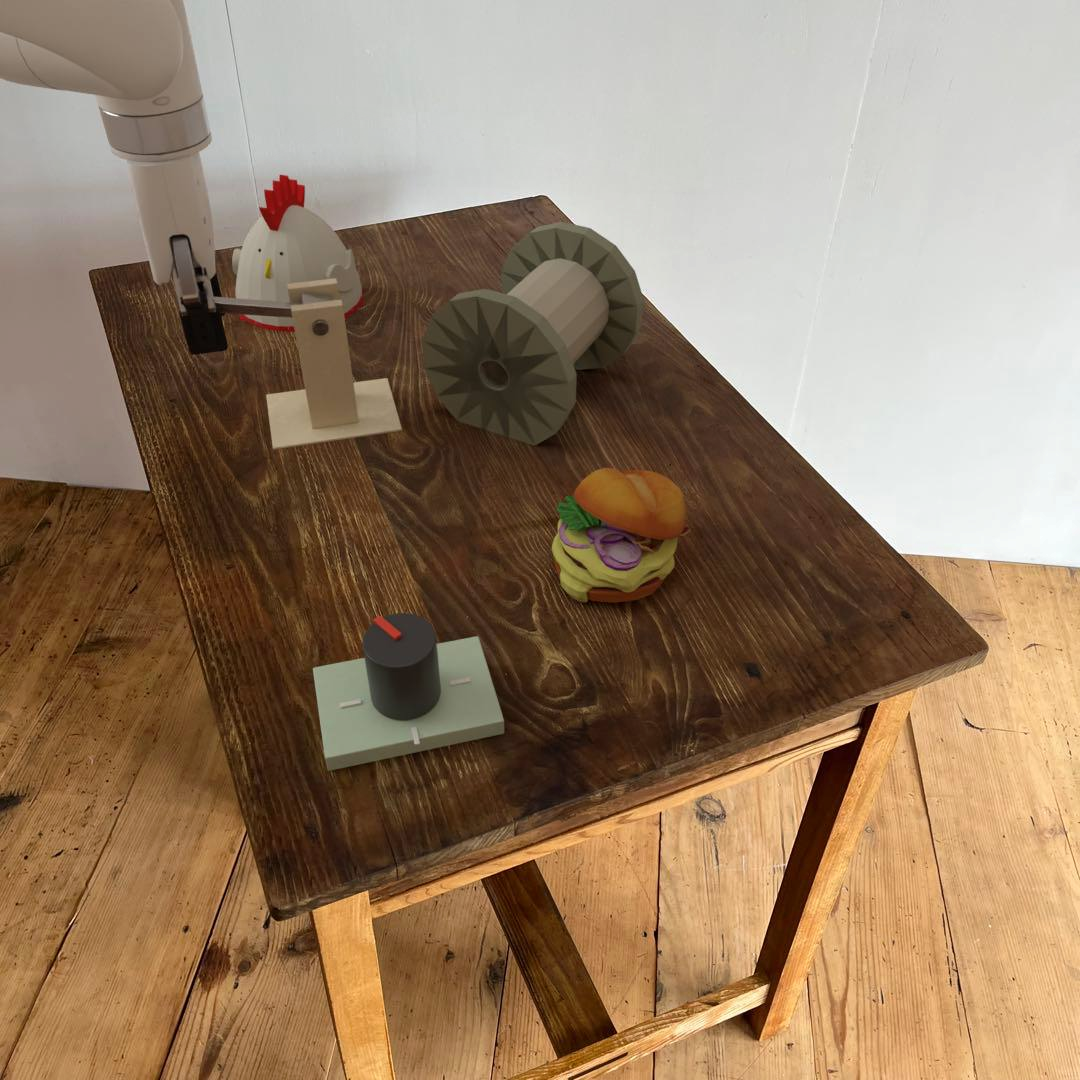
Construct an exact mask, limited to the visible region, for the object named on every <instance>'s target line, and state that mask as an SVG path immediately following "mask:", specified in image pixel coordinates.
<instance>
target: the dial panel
mask: <svg viewBox="0 0 1080 1080" xmlns="http://www.w3.org/2000/svg"><path fill="white" fill-rule="evenodd" d="M437 651H438V662H439V673H440V685H441V694H440V698H439V700H438V702H437V704H436V705H435V706H434V708H433V709H432V710H430V711H429V712H428V713H426V714H425V715H423V716H421V717H418V718H415V719H411V720H395V719H391V718H388V717H386V716H384V715H382V714H381V713H380V712H378V711H377V709H376V708H375V707H374V705H373V703H372V700H371V695H370V689H369V682H368V676H367V670H366V664H365V658H364V657H362V658H357V659H352V660H345V661H341V662H335V663H331V664H330V663H329V664H326V665H320V666H315V667H313V668H312V673H313V681H314V688H315V695H316V702H317V710H318V717H319V726H320V731H321V740H322V747H323V755H324V761H325V765H326V770H327V771H329V772H331V771H335V770H338V769H344V768H348V767H349V768H350V767H353V766H357V765H358V766H359V765H364V764H367V763H373V762H377V761H382V760H386V759H391V758H396V757H401V756H406V755H409V754H415V753H419V752H424V751H428V750H429V751H430V750H434V749H439V748H442V747H448V746H452V745H457V744H462V743H466V742H471V741H472V742H473V741H476V740H480V739H485V738H489V737H495V736H499V735H503V734H505V719H504V716H503V711H502V709H501V706H500V702H499V700H498V696H497V692H496V689H495V686H494V683H493V679H492V676H491V672H490V669H489V666H488V663H487V659H486V657H485V656H486V655H485V653H484V649H483V646H482V642H481V639H480V637H479V636H478V635H476V636H471V637H466V638H461V639H456V640H449V641H445V642H440V643H437Z"/></svg>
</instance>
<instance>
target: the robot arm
mask: <svg viewBox="0 0 1080 1080" xmlns="http://www.w3.org/2000/svg"><path fill="white" fill-rule="evenodd" d="M197 65H198V64H197V60H196V55H195V50H194V46H193V41H192V36H191V31H190V27H189V22H188V17H187V12H186V9H185V3H184V0H0V79H2V80H4V81H6V82H11V83H14V84H19V85H22V86H29V87H36V88H44V89H48V90H49V89H50V90H56V91H65V92H66V91H67V92H74V93H80V94H86V95H87V94H88V95H94V96H95V99H96V103H97V104H98V105H97V106H98V110H99V113H100V116H101V120H102V124H103V129H104V131H105V134H106V139H107V141H108V145H109V148H110V152H111V153H112V154H113V155H114V156H116V157H118V158H120V159H124V160H126V163H127V168H128V169H127V170H128V175H129V180H130V185H131V190H132V194H133V199H134V204H135V208H136V213H137V216H138V220H139V226H140V229H141V233H142V237H143V242H144V244H145V249H146V253H147V257H148V262H149V267H150V271H151V275H152V279H153V282H154V283H155V284H156V285H158V286H164V284H169V283H170V280H171V276H172V282H173V285H174V289H175V293H176V299H177V302H178V306H179V313H178V314H179V318H180V321H181V325H182V331H183V334H184V337H185V342H186V345H187V348H188V352H189V353H190V354H191V355H193V356H194V355H202V354H210V353H219V352H225V351H227V350H228V348H229V344H228V339H227V335H226V331H225V326H224V322H223V318H222V317H224V316H225V315H226V313H220V309H219V306H215V302H214V297H223V295H222V291H221V286H220V282H219V278H218V277H219V276H218V273H217V272H216V251H215V233H214V226H213V225H214V224H213V218H212V217H213V216H212V210H211V205H210V198H209V193H208V192H209V191H208V188H207V183H206V177H205V173H204V168H203V164H202V159H201V155H200V152H201V151H203V150H205V149H206V148H207V147H208V146H209V145H210V144H211V143H212V140H213V136H212V132H211V127H210V122H209V121H210V120H209V117H208V113H207V108H206V107H207V106H206V102H205V97H204V94H203V89H202V84H201V79H200V74H199V70H198V66H197ZM197 283H202V284H203V286H204V290H205V294H204V292H203V291H199V288H198V285H197Z"/></svg>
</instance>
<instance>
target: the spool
mask: <svg viewBox="0 0 1080 1080" xmlns="http://www.w3.org/2000/svg"><path fill="white" fill-rule="evenodd" d="M641 289H642V288H641V286H640V283H639V280H638V277H637V273H636V270H635V269H634V267H633V266H632V265H631V263H630V262H629V261H628V259H627V258H626V257H625V255H624V254H623V253H622V251H621V250H620V249H619V248H618V246H617V245H616V244H615V243H613V242H612V241H610V240H609V239H607V238H605V237H604V236H603V235H602V234H600V233H599V232H597V231H595V230H594V229H592V228H591V227H587V226H583V225H578V224H575V223H570V222H565V221H559V222H554V223H549V224H544V225H540V226H536V227H535V228H534V229H532V230H531V231H530V232H528V234H526V235H525V236H524V237H523V238H522V239H520V240H519V241H518V242H517V243H516V244H514V245H513V246H512V247H511V248H510V250H509V252H508V255H507V257H506V259H505V261H504V264H503V267H502V269H501V292H499V291H495V290H491V289H487V288H482V289H475V290H469V291H464V292H459V293H457V294H456V295H455V296H453V297H452V298H451V299H449V300H448V301H447V302H446V303H445V304H444V305H442V306H441V307H440V308H439V309H438V310H436V311H435V312H434V313H433V314H431V315H430V316H429V320H428V323H427V325H426V327H425V330H424V333H423V336H422V339H421V346H422V358H423V368H424V371H425V373H426V375H427V378H428V380H429V382H430V384H431V387H432V389H433V391H434V394H435V396H436V397H437V399H438V400H439V401H440V402H441V403H442V405H443V406H444V407H445V408H446V409H447V411H448V412H449V413H450V414H451V416H452V417H453V418H454V419H455V421H457V422H459V423H461V424H465V425H469V426H471V427H475V428H477V429H481V430H484V431H487V432H489V433H493V434H497V435H500V436H503V437H505V438H509V439H512V440H514V441H519V442H521V443H524V444H528V445H530V446H537V445H539V444H540V443H542V442H543V441H545V440H547V439H549V438H551V437H553V436H554V435H556V434H557V433H558V432H559V431H560V430H561V428H563V426H564V425H565V424H566V421H567V419H568V417H569V416H570V414H571V412H572V410H573V409H574V407H575V405H576V403H577V402H576V401H577V372H576V370H577V371H581V370H582V371H583V370H592V369H602V368H605V367H606V366H608V365H609V364H611V363H612V362H614V361H617V359H619V358H621V357H623V355H625V354H626V353H627V351H628V350H629V349H630V347H631V345H632V344H633V342H634V340H635V339H636V338H637V335H638V333H639V332H640V330H641V328H642V325H643V315H644V314H643V313H644V302H645V299H644V296H643V293H642V290H641Z"/></svg>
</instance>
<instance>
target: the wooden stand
mask: <svg viewBox="0 0 1080 1080" xmlns="http://www.w3.org/2000/svg"><path fill="white" fill-rule="evenodd" d="M287 289H288V294H289V300H290V303H300V301H301V293H305V294H317V295H330V296H333V299H334V301H325V302H317V303H309V304H301V305H293V306H291V312H292V317H293V323H294V329H295V331H294V335H295V339H296V345H297V351H298V357H299V363H300V368H301V373H302V374H301V375H302V379H303V380H302V381H303V385H304V388H303V389H297V390H289V391H283V392H275V393H267V394H266V395H265V396H266V397H265V398H266V404H267V413H268V420H269V421H268V422H269V429H270V439H271V446H272V450H273V451H274V450H275V451H276V450H282V449H289V448H295V447H303V446H310V445H315V444H323V443H328V442H336V441H343V440H349V439H357V438H363V437H370V436H376V435H382V434H389V433H390V434H391V433H397V432H402V431H403V428H402V427H403V426H402V424H401V421H400V417H399V413H398V411H397V407H396V403H395V399H394V396H393V392H392V389H391V385H390V382H389V378H388V377H385V378H384V377H383V378H378V379H370V380H369V379H368V380H362V381H355V382H354V376H353V369H352V361H351V354H350V348H349V340H348V332H347V325H346V318H345V317H344V310H343V304H342V300H340V298H339V291H338V284H337V280H336V278H333V279H325V280H316V281H308V282H299V283H291V284H287Z"/></svg>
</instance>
